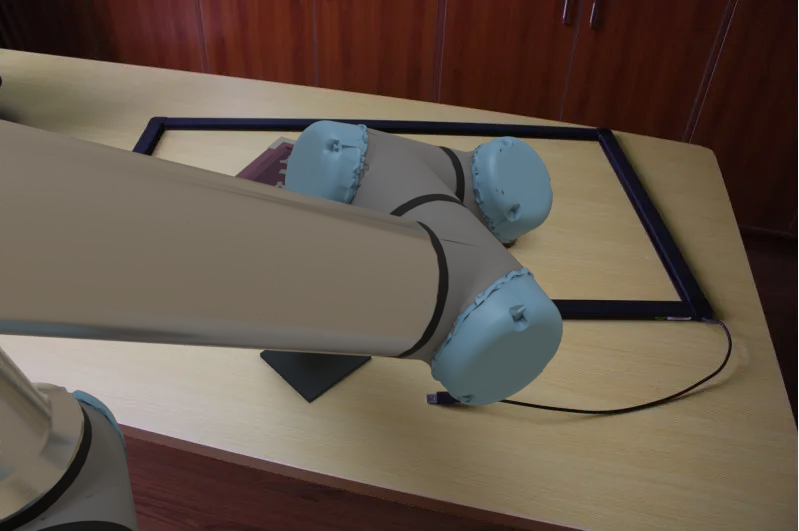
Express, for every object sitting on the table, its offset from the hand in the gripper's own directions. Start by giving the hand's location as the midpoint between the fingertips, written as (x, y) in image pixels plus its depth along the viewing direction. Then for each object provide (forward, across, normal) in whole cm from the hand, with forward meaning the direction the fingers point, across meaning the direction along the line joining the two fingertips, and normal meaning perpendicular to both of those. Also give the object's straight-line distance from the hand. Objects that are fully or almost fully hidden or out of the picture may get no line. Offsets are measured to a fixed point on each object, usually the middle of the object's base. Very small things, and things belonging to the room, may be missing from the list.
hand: (288, 293), depth 77 cm
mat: (+4, 0, -9) cm, 10 cm away
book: (+22, +21, +8) cm, 31 cm away
